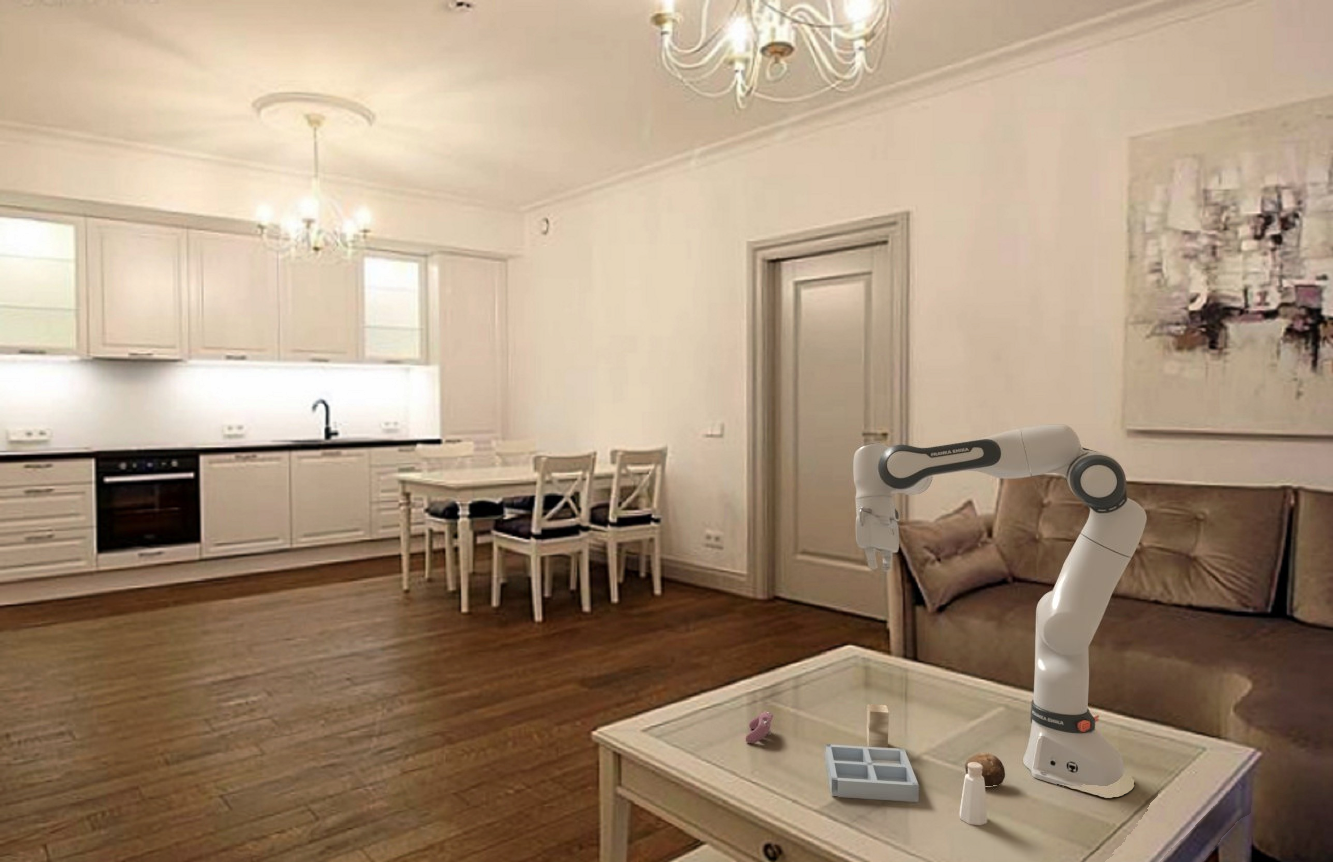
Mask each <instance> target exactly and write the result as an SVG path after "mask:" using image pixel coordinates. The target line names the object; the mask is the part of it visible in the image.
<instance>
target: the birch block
mask: <svg viewBox="0 0 1333 862" xmlns="http://www.w3.org/2000/svg"><path fill="white" fill-rule="evenodd" d="M889 719H890V712H889V709H888V707H887V705H886V704H866V734H865V735H866V736H865V737H866V738H865V739H866V740H865V742H866V744H867V745H866V746H867V747H880V748H889V726H890V725H889V724H890V723H889V722H890V721H889Z"/></svg>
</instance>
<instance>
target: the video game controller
mask: <svg viewBox="0 0 1333 862" xmlns="http://www.w3.org/2000/svg"><path fill="white" fill-rule="evenodd" d="M773 717H774V714H772V713H771V712H769V711H766V710H764V711H763V712H761V713H760V714H759V715H758V716H757V717H755V718H753V719H752V720H750V722H749V728H750V730H752V729H754V730H752V731H750V732H749V733H748V734H747V735H746V737H745V742H746V743H747V742H748V744H755V743H758V742H760V741H763V740H764V738H766V737H767V735H771V733H772V730H771V725H772V724H771V721H772V719H773Z"/></svg>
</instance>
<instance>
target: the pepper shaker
mask: <svg viewBox="0 0 1333 862" xmlns="http://www.w3.org/2000/svg"><path fill="white" fill-rule="evenodd" d="M982 769H983V766H982V765H981V764H979V763H976V762H970V763H968V774H967V773H966V774H965V776H964V780H963V787H962V792H961V794H962V795H961V799H960V800H961V801H960V807H959V818H960V820H961V821H963V822H964V823H966V824H968V825H974V826H982V825H986V824H987V823H988V815H987V814H988V813H987V801H986V800H987V799H986V798H987V796H986V787H985V782H984V777H983V776H982Z"/></svg>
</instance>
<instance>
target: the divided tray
mask: <svg viewBox="0 0 1333 862" xmlns="http://www.w3.org/2000/svg"><path fill="white" fill-rule="evenodd" d="M824 763H825V768H826V773H827V779H828V784H829V791H830V796H831V797H832V796H838V797H837V798H850V799H851V798H852V799H863V800H864V799H865V800H878V801H879V800H881V801H895V802H909V803H911V802H913V803H919V798H920V797H919V796H920V794H919V793H920V784H919V782H918V780H917V777H916V775H915V772H914V769H913V767H912V765H911V762H910V760H909V757H908V755H907V753H906V750H905V748H893V747H888V748H880V747H868V746H862V745H861V746H859V745H846V744H845V745H844V744H830V743H829V744H827V743H826V744H825V743H824Z"/></svg>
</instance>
